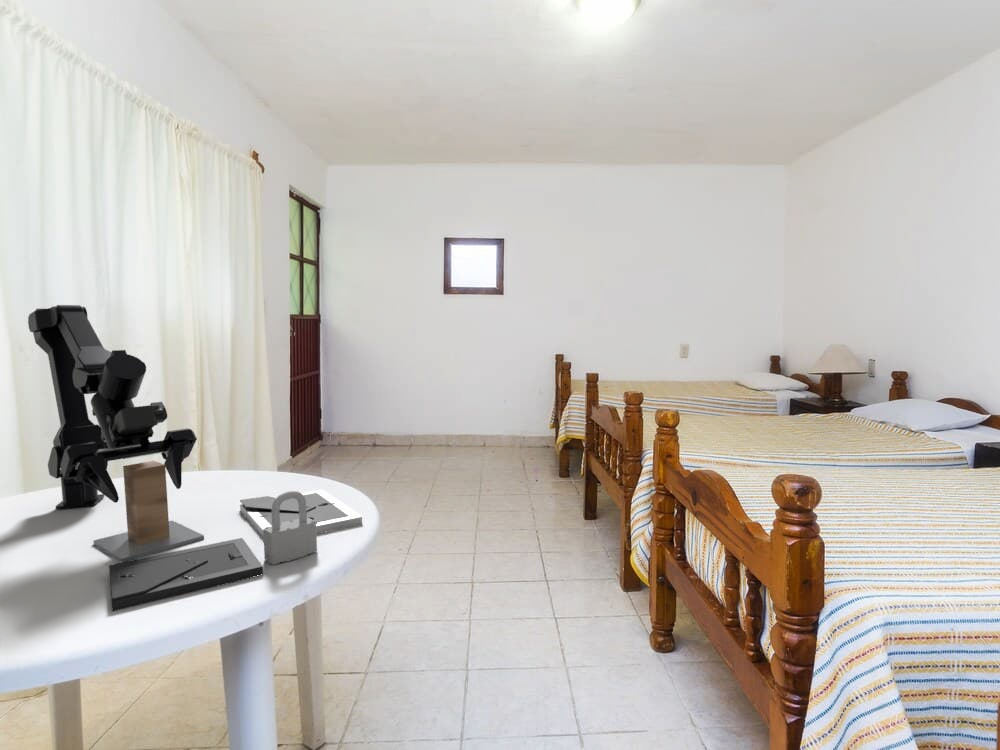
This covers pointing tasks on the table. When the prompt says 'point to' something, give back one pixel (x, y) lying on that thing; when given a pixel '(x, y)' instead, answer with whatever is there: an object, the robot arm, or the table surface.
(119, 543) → the coaster
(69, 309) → the robot arm
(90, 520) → the table surface
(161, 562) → the picture frame
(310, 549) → the padlock
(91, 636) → the table surface
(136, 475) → the block
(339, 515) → the picture frame
